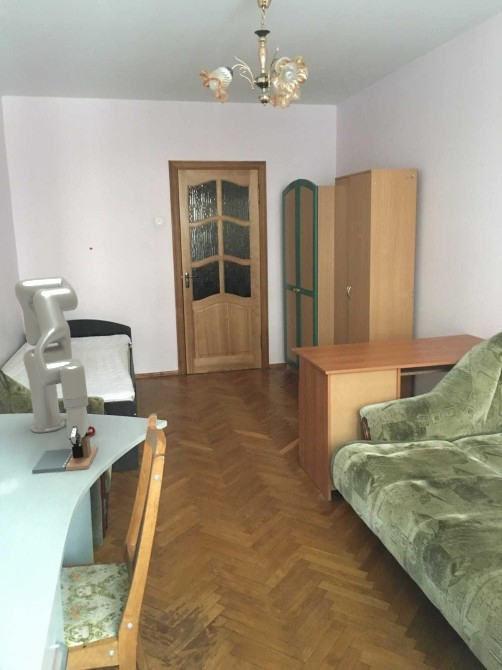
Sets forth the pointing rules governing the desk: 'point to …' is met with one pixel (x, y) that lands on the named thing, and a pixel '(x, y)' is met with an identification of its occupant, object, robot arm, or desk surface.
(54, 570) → the desk surface
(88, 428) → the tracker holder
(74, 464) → the stub
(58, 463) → the board
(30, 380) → the robot arm
